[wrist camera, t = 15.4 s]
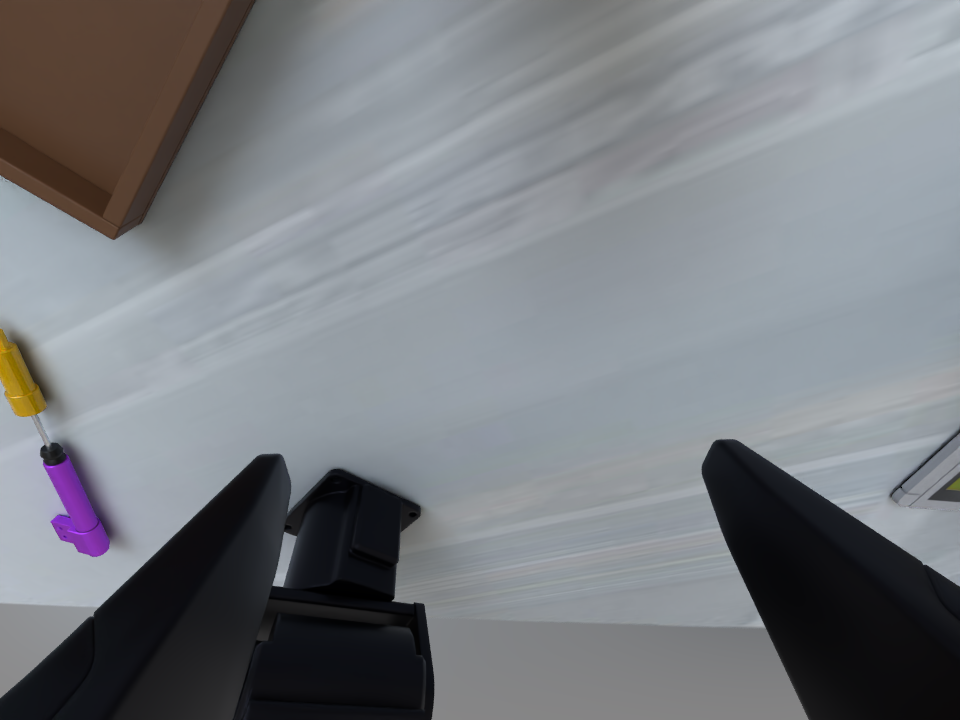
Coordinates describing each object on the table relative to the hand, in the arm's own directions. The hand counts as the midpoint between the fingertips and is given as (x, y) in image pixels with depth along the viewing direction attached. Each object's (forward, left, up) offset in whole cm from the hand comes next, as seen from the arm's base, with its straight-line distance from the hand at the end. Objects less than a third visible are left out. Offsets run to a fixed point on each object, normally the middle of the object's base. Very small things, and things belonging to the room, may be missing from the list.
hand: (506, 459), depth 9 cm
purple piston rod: (-23, +9, -12) cm, 27 cm away
